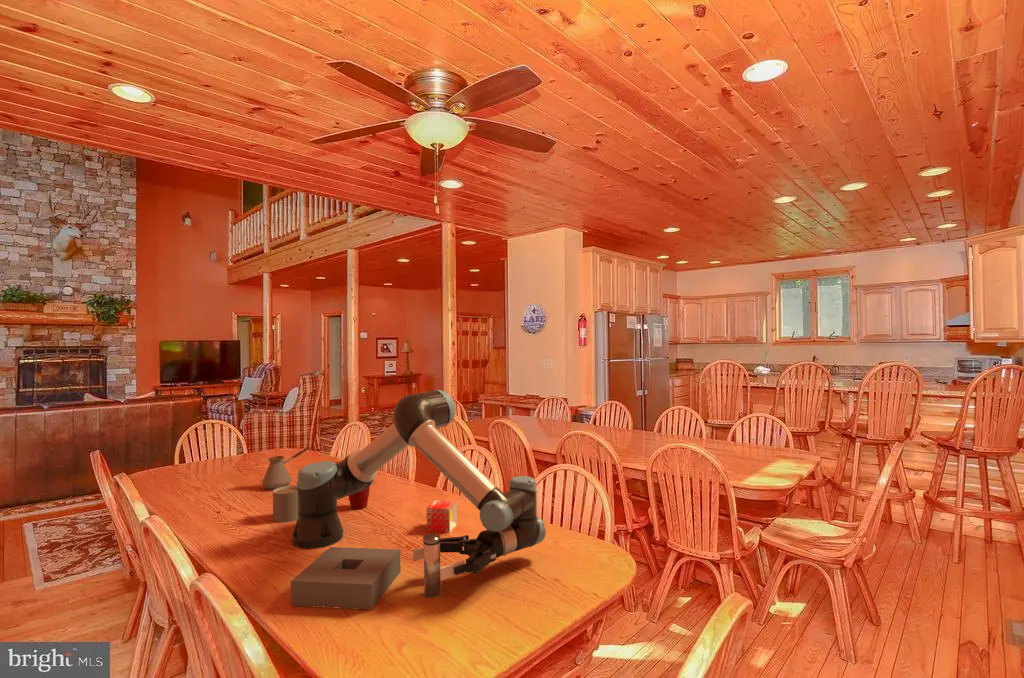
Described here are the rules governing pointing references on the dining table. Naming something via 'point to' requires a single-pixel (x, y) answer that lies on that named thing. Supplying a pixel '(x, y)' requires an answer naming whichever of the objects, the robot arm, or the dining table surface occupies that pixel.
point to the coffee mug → (285, 504)
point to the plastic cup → (359, 499)
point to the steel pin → (432, 565)
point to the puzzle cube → (441, 516)
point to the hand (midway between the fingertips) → (426, 564)
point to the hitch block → (346, 578)
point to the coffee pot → (278, 472)
